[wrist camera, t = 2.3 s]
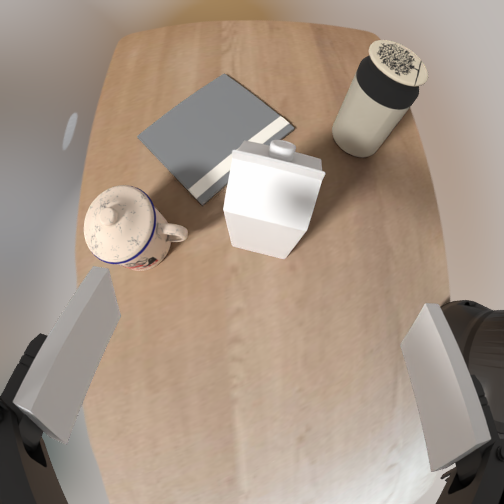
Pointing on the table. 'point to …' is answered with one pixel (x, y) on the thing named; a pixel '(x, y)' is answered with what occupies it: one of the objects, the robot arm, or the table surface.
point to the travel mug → (378, 97)
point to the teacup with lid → (129, 229)
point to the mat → (211, 134)
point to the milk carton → (270, 196)
